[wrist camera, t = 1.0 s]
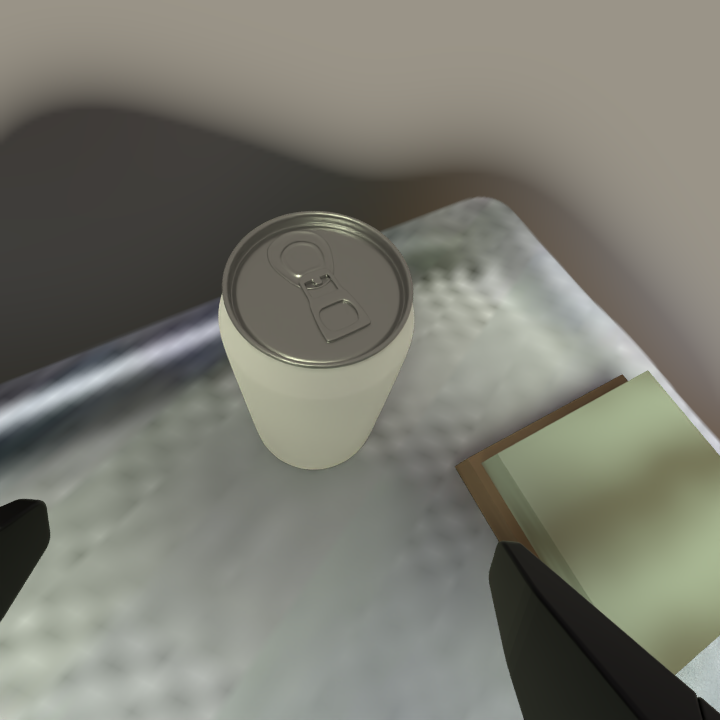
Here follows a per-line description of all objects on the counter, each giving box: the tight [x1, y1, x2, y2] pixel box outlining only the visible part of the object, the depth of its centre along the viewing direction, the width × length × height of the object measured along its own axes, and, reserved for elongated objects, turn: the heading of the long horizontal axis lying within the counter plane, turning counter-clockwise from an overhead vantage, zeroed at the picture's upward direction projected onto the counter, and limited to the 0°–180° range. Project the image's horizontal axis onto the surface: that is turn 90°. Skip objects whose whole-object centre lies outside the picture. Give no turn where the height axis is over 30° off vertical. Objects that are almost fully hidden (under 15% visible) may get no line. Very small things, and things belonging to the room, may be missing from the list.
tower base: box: [455, 371, 720, 675], centre depth 20 cm, size 11×11×4 cm
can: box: [219, 211, 414, 470], centre depth 18 cm, size 6×6×12 cm
